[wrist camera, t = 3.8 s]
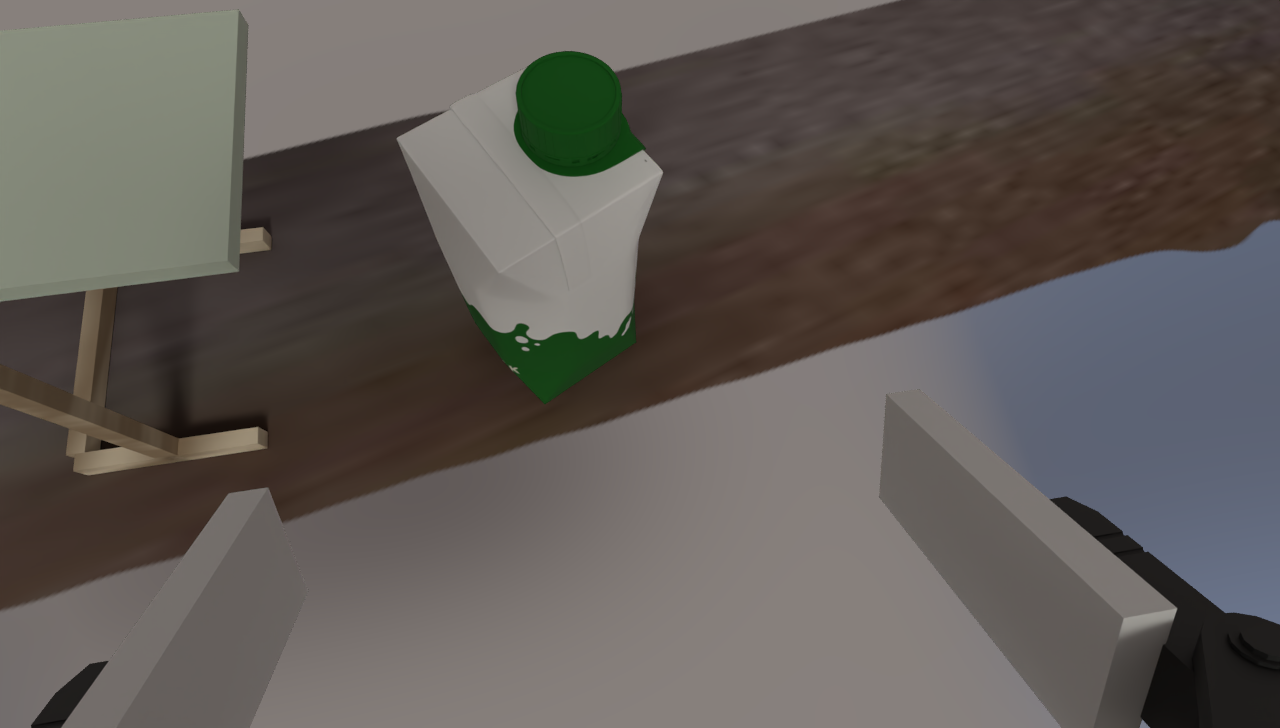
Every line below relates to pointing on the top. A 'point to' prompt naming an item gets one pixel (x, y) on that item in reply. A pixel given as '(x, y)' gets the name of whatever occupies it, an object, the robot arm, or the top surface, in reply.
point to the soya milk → (540, 214)
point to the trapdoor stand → (100, 423)
